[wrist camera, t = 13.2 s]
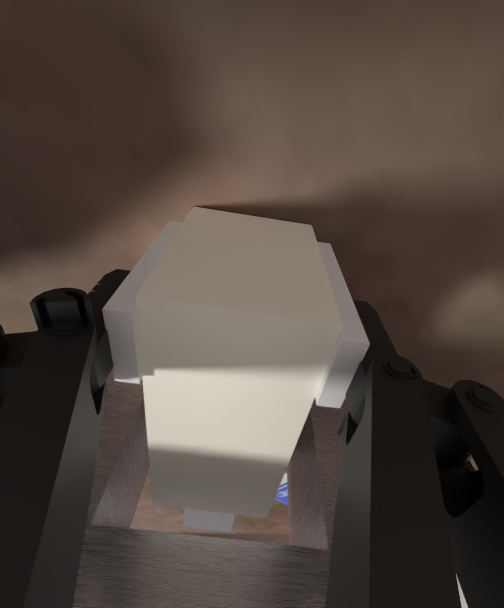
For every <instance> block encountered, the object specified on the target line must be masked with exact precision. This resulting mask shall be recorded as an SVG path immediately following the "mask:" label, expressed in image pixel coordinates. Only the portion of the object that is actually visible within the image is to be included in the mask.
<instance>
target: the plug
mask: <svg viewBox="0 0 504 608" xmlns="http://www.w3.org/2000/svg"><path fill="white" fill-rule="evenodd" d="M136 307H137V318H138V328H139V338H140V348H141V358H142V369H143V377H142V380H143V392H144V404H145V417H146V429H147V441H148V453H149V465H150V477H151V490H152V502H153V505H159V506H168V507H177V508H184V527H186V528H195V529H204V530H213V531H222V532H231V528H232V525H233V521H234V517H235V514H237V515H246V516H255V517H264V518H267V516H268V514H269V511H270V509H271V506H272V504H273V501H274V499H275V496H276V494H277V491H278V489H279V486H280V484H281V481H282V479H283V476H284V474H285V471H286V469H287V466H288V464H289V461H290V459H291V456H292V454H293V451H294V449H295V446H296V444H297V441H298V439H299V436H300V434H301V431H302V429H303V426H304V424H305V421H306V419H307V416H308V414H309V411H310V409H311V406H312V404H313V401H314V398H315V396H316V393H317V391H318V388H319V386H320V383H321V381H322V378H323V375H324V373H325V370H326V367H327V365H328V362H329V359H330V357H331V354H332V352H333V349H334V346H335V344H336V341H337V338H338V336H339V333H341V331H342V328H343V323H342V320H341V316H340V313H339V310H338V307H337V304H336V301H335V297H334V294H333V291H332V288H331V285H330V281H329V278H328V275H327V272H326V269H325V265H324V262H323V259H322V256H321V253H320V250H319V246H318V243H317V240H316V237H315V234H314V230H313V227H312V225H308V224H301V223H295V222H289V221H282V220H276V219H270V218H263V217H257V216H251V215H244V214H238V213H232V212H225V211H219V210H213V209H206V208H200V207H193V208H192V210H191V211H190V213H189V214H188V216H187V217H186V219H185V221H184V222H183V224H182V225H181V227H180V228H179V230H178V231H177V233H176V234H175V236H174V238H173V239H172V241H171V242H170V244H169V245H168V247H167V248H166V250H165V251H164V253H163V255H162V256H161V258H160V259H159V261H158V262H157V264H156V265H155V267H154V268H153V270H152V271H151V273H150V275H149V276H148V278H147V279H146V281H145V282H144V284H143V285H142V287H141V288H140V290H139V292H138V293H137V295H136Z"/></svg>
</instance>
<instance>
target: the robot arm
mask: <svg viewBox="0 0 504 608" xmlns="http://www.w3.org/2000/svg"><path fill="white" fill-rule="evenodd" d="M182 224H183V223H182V222H175V221H169V222H168V223H167V224H166V226H165V227H164V228H163V230H162V231H161V232H160V234H159V235H158V236H157V238H156V239H155V240H154V242H153V243H152V244H151V245H150V247H149V248H148V249H147V251H146V252H145V253H144V255H143V256H142V257H141V259H140V260H139V261H138V263H137V264H136V265H135V267H134V268H133V269H132V271H128V270H120V269H116V270H114V271H112V272H110V273H108V274H106V275H104V277H103V278H102V279H101V280H100V281H99V282H98V283H97V285H96V286H95V287H94V288H93V289H92V290H91V292H89V293H88V294H87V293H86V292H85V291H82V290H79V289H76V288H58V289H53V290H49V291H46V292H43V293H41V294H40V295H38V296H36V297H35V298H34V299H33V300H32V301H31V302H30V306H31V309H32V312H33V315H34V318H35V321H36V324H37V327H38V331H34V332H25V333H13V334H5V332H4V330H3V328H2V326H1V325H0V608H73V601H74V595H75V589H76V583H77V577H78V571H79V565H80V558H81V552H82V546H83V540H84V534H85V528H86V521H87V515H88V509H89V503H90V497H91V491H92V484H93V478H94V472H95V466H96V460H97V454H98V447H99V441H100V435H101V429H102V423H103V417H104V411H105V404H106V398H107V392H108V390H107V383H106V379H107V377H108V376H109V374H110V372H111V370H112V369H113V374H114V379H115V381H120V382H128V383H136V384H140V382H141V380H142V377H143V369H142V358H141V348H140V338H139V328H138V318H137V307H136V295H137V293H138V292H139V290H140V288H141V287H142V285H143V284H144V282H145V281H146V279H147V278H148V276H149V275H150V273H151V271H152V270H153V268H154V267H155V265H156V264H157V262H158V261H159V259H160V258H161V256H162V255H163V253H164V251H165V250H166V248H167V247H168V245H169V244H170V242H171V241H172V239H173V238H174V236H175V234H176V233H177V231H178V230H179V228H180V227H181V225H182ZM317 243H318V246H319V250H320V253H321V256H322V259H323V262H324V265H325V269H326V272H327V275H328V278H329V281H330V285H331V288H332V291H333V294H334V297H335V301H336V304H337V307H338V310H339V313H340V316H341V320H342V323H343V328H342V331H341V333H339V336H338V338H337V341H336V344H335V346H334V349H333V352H332V354H331V357H330V359H329V362H328V365H327V367H326V370H325V373H324V375H323V378H322V381H321V383H320V386H319V388H318V391H317V393H316V396H315V399H316V405H317V406H324V407H332V408H341V406H342V404H343V401H344V399H345V397H346V399H347V403H348V407H349V409H348V411H347V413H346V415H345V418H344V420H343V422H342V424H341V426H340V428H339V430H338V433H337V434H338V435H341V433H342V431H343V435H342V445H341V455H340V465H339V475H338V485H337V495H336V505H335V514H334V524H333V534H332V544H331V554H330V564H329V574H328V584H327V593H326V603H325V608H462V607H461V602H460V596H459V590H458V584H457V578H456V574H457V577H458V580H459V583H460V586H461V588H462V591H463V594H464V597H465V599H466V602H467V605H468V608H504V399H503V398H502V397H501V396H500V395H499V394H497V393H496V392H494V391H493V390H492V389H491V388H489V387H487V386H485V385H483V384H481V383H478V382H475V381H471V380H460V381H458V382H456V383H455V384H454V385H453V387H452V388H451V389H448V388H446V387H443V386H440V385H437V384H434V383H432V382H429V381H427V380H424V379H422V376H421V374H420V371H419V370H418V369H417V368H416V367H415V365H414V364H413V363H411V362H410V361H408V360H407V359H405V358H403V357H401V356H399V355H397V353H396V351H395V349H394V346H393V344H392V342H391V340H390V338H389V336H388V334H387V332H386V330H384V326H383V324H382V322H381V320H380V317H379V315H378V313H377V311H376V310H375V309H374V308H373V307H372V306H371V305H370V304H369V303H367V302H364V301H356V300H352V297H351V295H350V292H349V290H348V287H347V285H346V282H345V280H344V277H343V275H342V272H341V270H340V267H339V264H338V262H337V259H336V257H335V254H334V252H333V249H332V247H331V244H330V243H323V242H317ZM472 457H473V459H474V461H475V463H476V465H477V467H478V470H477V471H476V470H475V469H474V468H473V466H472V464H471V462H470V459H471V458H472Z"/></svg>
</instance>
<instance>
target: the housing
mask: <svg viewBox="0 0 504 608" xmlns="http://www.w3.org/2000/svg"><path fill="white" fill-rule="evenodd" d="M106 383H107V390H108V392H107V398H106V404H105V411H104V417H103V423H102V429H101V435H100V441H99V447H98V454H97V460H96V466H95V472H94V478H93V484H92V491H91V497H90V503H89V509H88V515H87V521H86V528H85V534H84V540H83V546H82V552H81V558H80V565H79V571H78V577H77V583H76V589H75V595H74V601H73V608H325V603H326V593H327V584H328V574H329V564H330V554H331V544H332V534H333V524H334V514H335V505H336V495H337V485H338V475H339V465H340V455H341V445H342V435H343V431H342V433H341V435H338V434H337V433H338V430H339V428H340V426H341V424H342V422H343V420H344V418H345V415H346V413H347V411H348V409H349V407H348V403H347V399H346V397H345V399H344V401H343V404H342V406H341V408H332V407H324V406H317V405H316V399H315V398H314V401H313V404H312V406H311V409H310V411H309V414H308V416H307V419H306V421H305V424H304V426H303V429H302V431H301V434H300V436H299V439H298V441H297V444H296V446H295V449H294V451H293V454H292V456H291V459H290V461H289V464H288V466H287V486H288V509H289V531H290V545H280V544H270V543H262V542H252V541H243V540H234V539H225V538H215V537H206V536H197V535H188V534H178V533H169V532H160V531H151V530H141V529H132V528H130V526H131V523H132V519H133V516H134V513H135V510H136V507H137V504H138V501H139V498H140V494H141V491H142V488H143V485H144V482H145V479H146V476H147V473H148V469H149V466H150V465H149V453H148V441H147V429H146V417H145V404H144V392H143V380H141V382H140V384H136V383H128V382H120V381H115V379H114V374H113V369H112V370H111V372H110V374H109V376H108V377H107V379H106Z"/></svg>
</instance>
